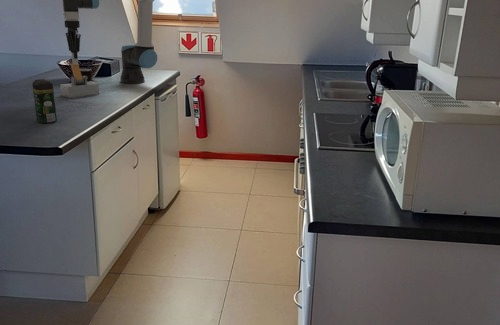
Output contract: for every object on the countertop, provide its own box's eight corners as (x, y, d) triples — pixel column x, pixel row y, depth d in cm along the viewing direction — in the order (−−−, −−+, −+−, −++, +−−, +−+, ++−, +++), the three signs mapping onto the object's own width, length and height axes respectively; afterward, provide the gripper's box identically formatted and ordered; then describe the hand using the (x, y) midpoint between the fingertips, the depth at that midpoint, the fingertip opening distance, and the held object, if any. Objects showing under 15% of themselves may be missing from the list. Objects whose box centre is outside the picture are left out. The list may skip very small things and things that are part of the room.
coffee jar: (34, 119, 222) (29, 78, 215) (52, 117, 226) (48, 77, 220) (40, 124, 214) (35, 82, 208) (59, 122, 219) (54, 81, 213)
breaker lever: (75, 84, 271) (68, 59, 271) (82, 83, 274) (75, 59, 274) (76, 83, 269) (70, 58, 269) (84, 82, 272) (77, 58, 272)
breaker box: (61, 95, 271) (59, 77, 268) (91, 91, 283) (89, 74, 280) (68, 98, 265) (66, 79, 262) (99, 94, 277) (97, 76, 274)
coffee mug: (95, 85, 300) (93, 69, 297) (89, 88, 292) (88, 71, 289) (76, 84, 301) (75, 68, 298) (70, 87, 293) (69, 70, 290)
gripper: (59, 19, 264) (63, 63, 272) (70, 20, 256) (74, 66, 263) (72, 19, 269) (76, 62, 277) (84, 20, 261) (87, 65, 268)
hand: (75, 64), depth 270 cm, fingers closed
